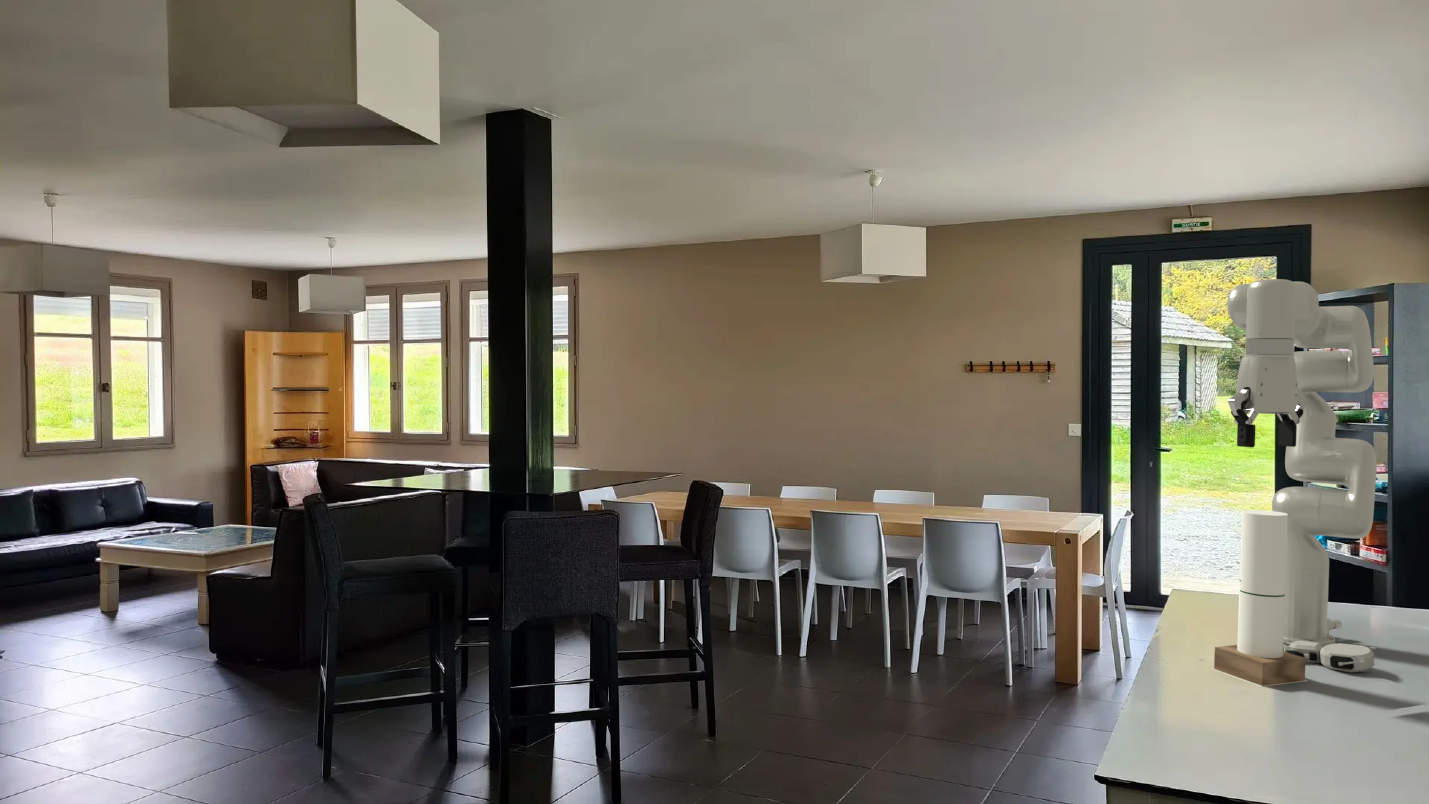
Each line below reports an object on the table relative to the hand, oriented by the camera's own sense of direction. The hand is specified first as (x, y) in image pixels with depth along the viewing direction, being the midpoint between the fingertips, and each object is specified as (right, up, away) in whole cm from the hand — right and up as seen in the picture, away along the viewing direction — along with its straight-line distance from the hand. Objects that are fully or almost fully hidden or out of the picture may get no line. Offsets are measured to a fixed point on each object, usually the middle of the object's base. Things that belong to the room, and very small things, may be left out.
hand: (1266, 446), depth 172 cm
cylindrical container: (-1, -37, +1) cm, 37 cm away
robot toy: (+16, -42, +9) cm, 46 cm away
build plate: (-1, -42, +1) cm, 42 cm away
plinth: (-1, -41, +1) cm, 41 cm away
